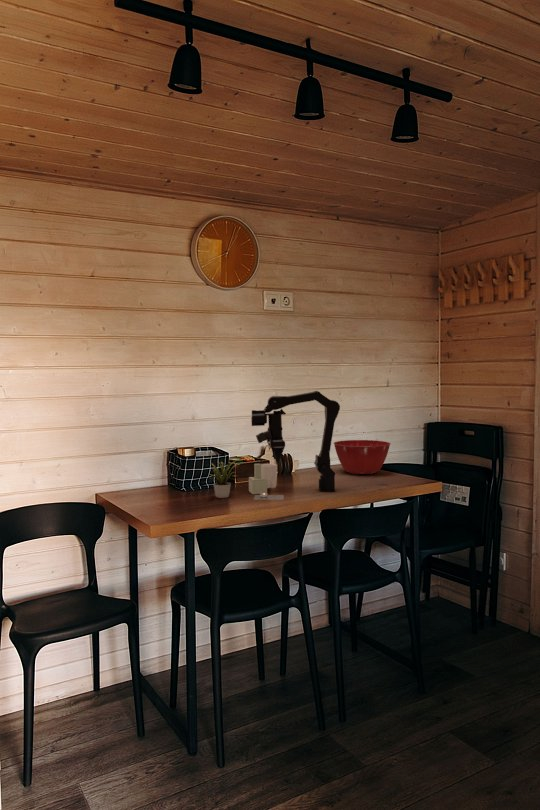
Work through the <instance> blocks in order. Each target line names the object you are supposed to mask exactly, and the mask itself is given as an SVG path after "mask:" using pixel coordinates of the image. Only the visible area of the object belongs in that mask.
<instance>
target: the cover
mask: <svg viewBox="0 0 540 810" xmlns="http://www.w3.org/2000/svg"><path fill="white" fill-rule="evenodd" d="M261 464H262V463H254V464H253V465H254V466H253V467H254V468H253V469H254V471H253V472H254V476H249V477H248V492H249V493H251V495H260V493H267V494H268V488H267V479H266V478H265V477H263V476H262V477H261Z"/></svg>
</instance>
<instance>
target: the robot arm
mask: <svg viewBox="0 0 540 810" xmlns="http://www.w3.org/2000/svg"><path fill="white" fill-rule="evenodd" d="M312 401H316V402H317V403H319V404H320V405H322V406H323V407H324V420H325V421H324V428H323V434H322V439H321V445H320V451H319V454H315V461H314V462H313V463H314V465H315V469H316V470H317V472H318V473H319V474H320V475H319V479H318V490H319V491H320V492H336V488H335V487H336V486H335V485H336V479H335V478H336V477H335V476H336V472H335V471H334V470H333V469H332V468H331V455H330V454H331V453H330V452H331V447H332V440H333V433H334V429H335V422H336V419H337V418H338V415H339V412H340V409H341V406H340V405H341V404H339V402H338V401H336V400H333V399H330V398H328V397H326V396H325V395H324V394H322V393H321V391H318V390H314V391H310V392H304V393H299V394H294V395H293V394H292V395H272V396H270V397H269V398H268V399H267V405H265V407H264V409H263V410H254V409H252V410H251V419H250V420H251V421H250V422H251V426H252V427H255V426H256V427H262V426H263V427H265V425H266V424H268V426H267V430H266V431H261V432H259V433H257V434H256V435H255V437H256V440H257V442H258V444H261V443H263V442H265V441H266V442H267V445H268V446H269V447H270V449H271V452H272V455H273V460H275V462H276V464H277V463H280V461H281V458H282V455H283V452H284V450H285V448H286V441H285V440H284V439H283V438H284V437H283V420H282V419H283V417H282V415H284V416H285V415H286V414H287V413H286V412H285V411H284V410H283V408H286V407H287V406H289V405H295V404H301V403H307V402H312ZM272 411H273V412H272Z"/></svg>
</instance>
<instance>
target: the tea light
mask: <svg viewBox="0 0 540 810" xmlns="http://www.w3.org/2000/svg"><path fill="white" fill-rule="evenodd" d="M259 495H260V498H268V495H269V494H268V492H267V493H260V494H259Z"/></svg>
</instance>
